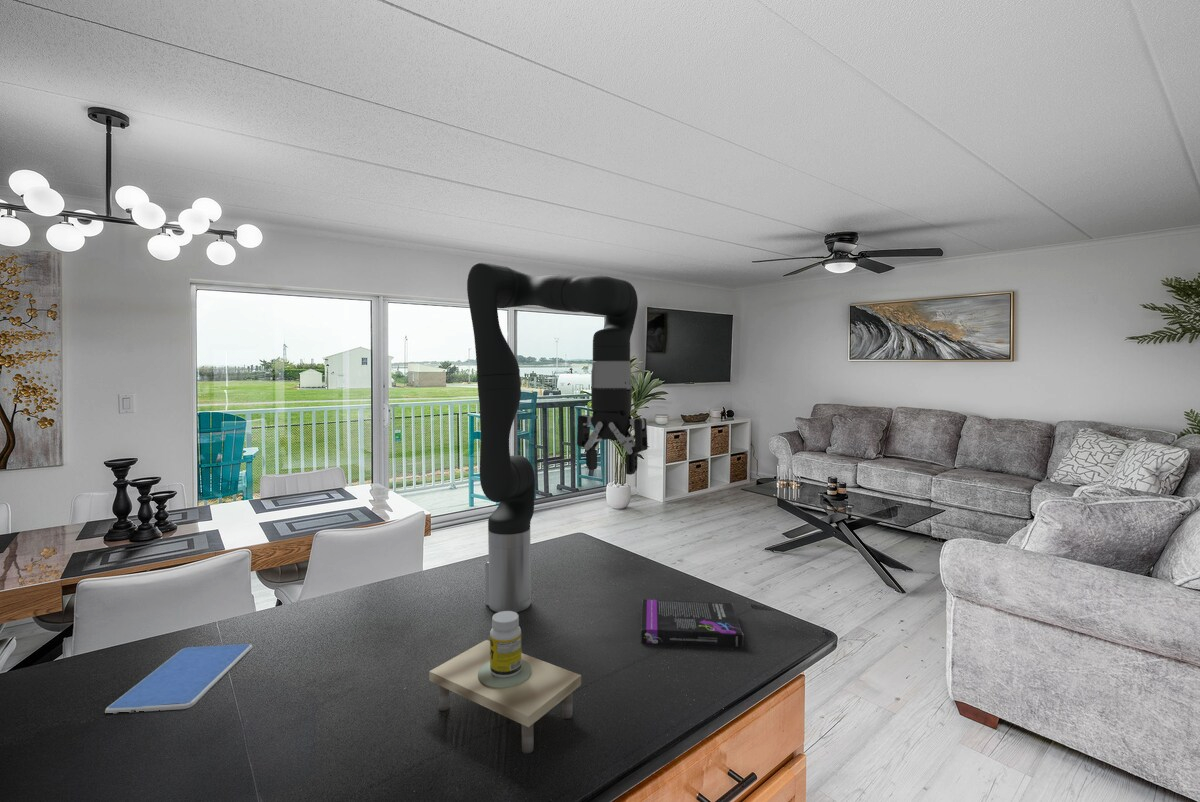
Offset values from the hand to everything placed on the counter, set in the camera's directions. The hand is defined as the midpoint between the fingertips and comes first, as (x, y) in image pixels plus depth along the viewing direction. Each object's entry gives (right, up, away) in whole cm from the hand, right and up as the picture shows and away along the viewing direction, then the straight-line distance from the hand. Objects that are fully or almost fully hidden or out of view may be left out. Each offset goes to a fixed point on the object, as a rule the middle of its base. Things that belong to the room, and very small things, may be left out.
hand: (611, 471), depth 103 cm
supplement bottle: (-16, -28, -20) cm, 38 cm away
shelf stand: (-17, -34, -20) cm, 43 cm away
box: (+16, -34, +8) cm, 38 cm away
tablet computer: (-73, -34, -10) cm, 81 cm away
